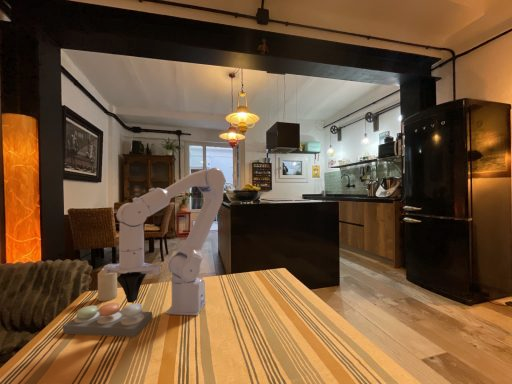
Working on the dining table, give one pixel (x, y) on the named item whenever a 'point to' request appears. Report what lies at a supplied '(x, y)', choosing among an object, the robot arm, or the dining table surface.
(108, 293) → the candle
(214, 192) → the robot arm
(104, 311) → the terracotta button
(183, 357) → the dining table surface
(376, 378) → the dining table surface
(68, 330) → the button board
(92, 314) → the green button
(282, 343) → the dining table surface
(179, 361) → the dining table surface
